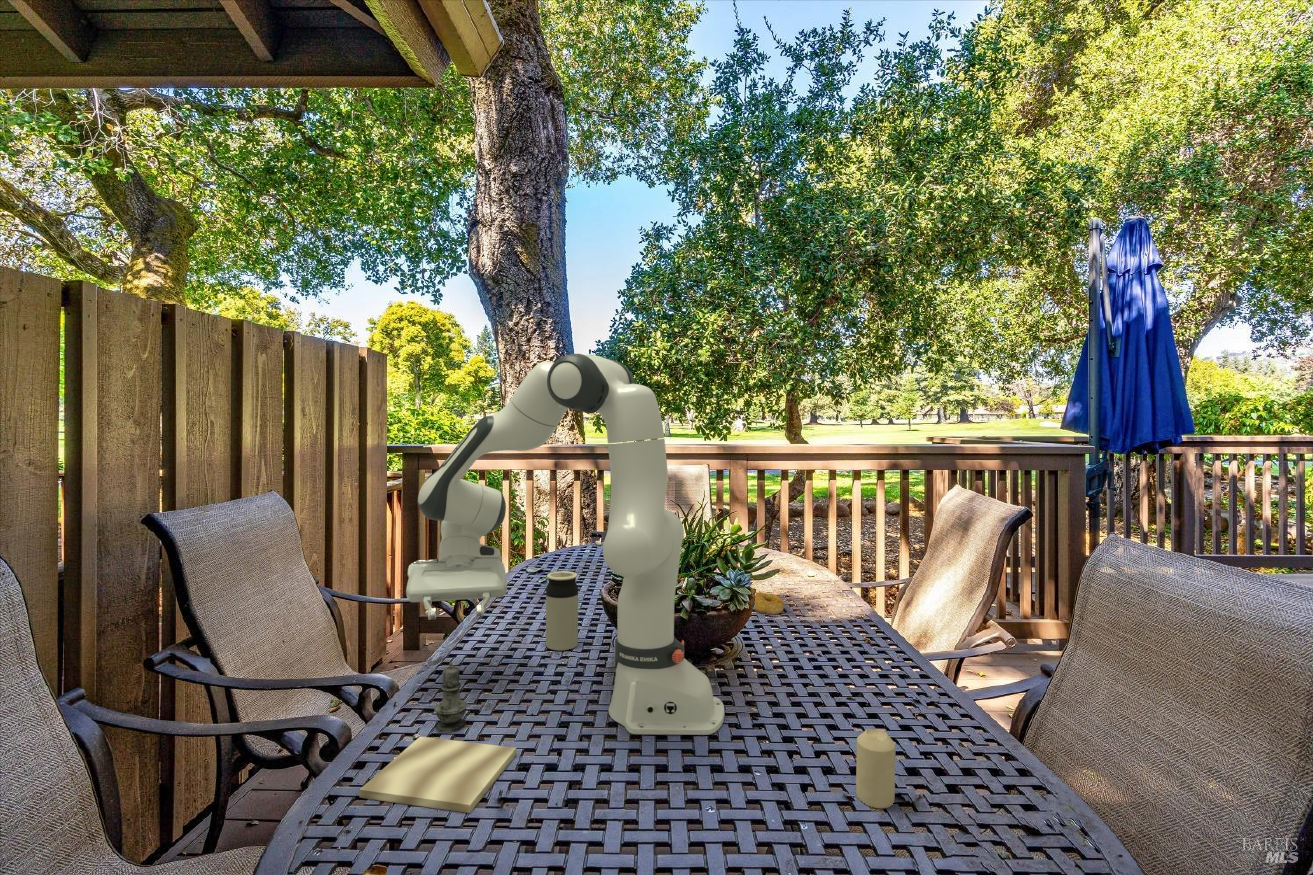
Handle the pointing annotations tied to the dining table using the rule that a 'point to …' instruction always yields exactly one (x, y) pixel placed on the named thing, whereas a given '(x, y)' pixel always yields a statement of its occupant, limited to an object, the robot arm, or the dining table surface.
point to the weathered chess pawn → (451, 702)
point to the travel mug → (561, 611)
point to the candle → (875, 769)
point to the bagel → (768, 603)
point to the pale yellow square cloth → (440, 774)
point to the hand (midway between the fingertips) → (456, 616)
